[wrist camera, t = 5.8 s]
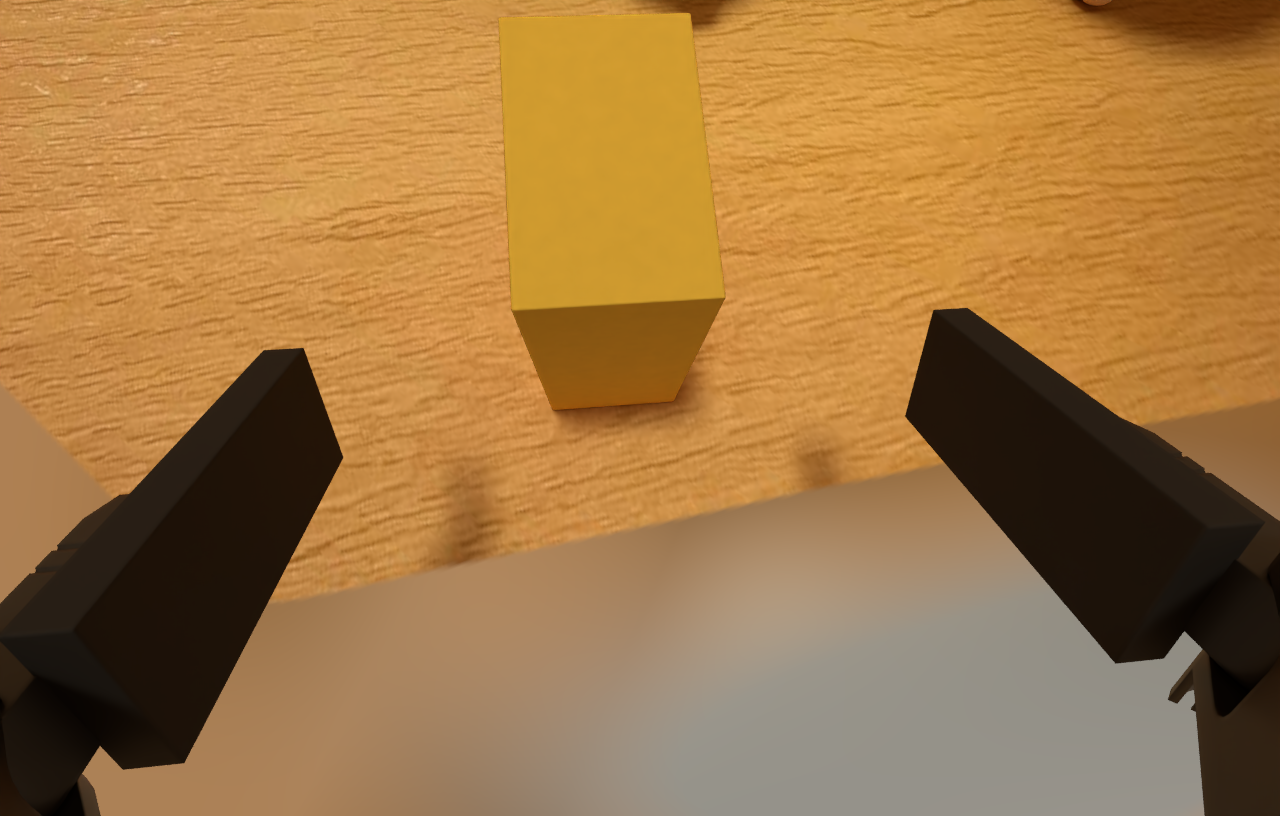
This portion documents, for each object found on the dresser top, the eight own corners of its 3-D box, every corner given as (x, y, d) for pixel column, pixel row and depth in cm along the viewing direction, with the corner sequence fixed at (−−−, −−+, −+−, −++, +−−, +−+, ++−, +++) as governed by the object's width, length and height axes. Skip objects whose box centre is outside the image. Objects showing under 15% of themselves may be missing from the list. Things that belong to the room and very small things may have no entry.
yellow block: (552, 410, 24) (511, 310, 14) (542, 231, 26) (497, 16, 15) (673, 401, 25) (726, 297, 14) (656, 225, 26) (691, 11, 16)
